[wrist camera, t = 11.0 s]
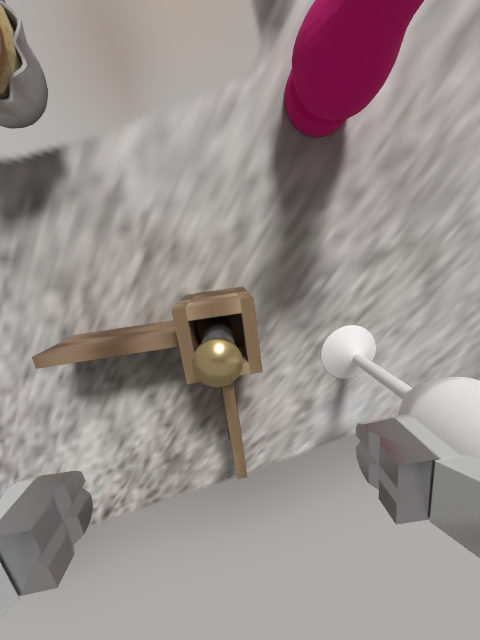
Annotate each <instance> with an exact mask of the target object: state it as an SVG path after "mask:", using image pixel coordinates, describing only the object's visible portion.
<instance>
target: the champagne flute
mask: <svg viewBox="0 0 480 640" xmlns="http://www.w3.org/2000/svg"><path fill="white" fill-rule="evenodd" d="M375 351H376V345H375V341H374V338H373V336H372V335H371V333H370V332H369V331H368V330H366V329H365V328H363V327H360V326H355V325H349V326H344V327H341V328H339V329H337V330H336V331H334V332H333V333H332V334H331V335H330V336H329V337H328V338H327V339H326V341H325V342H324V345H323V347H322V352H321V360H322V364H323V366H324V368H325V369H326V371H327V372H328V373H330V374H331V375H333V376H334V377H337V378H343V379H346V378H352V377H355V376H357V375H359V374H361V373H362V372H364V371H366V372H367V373H368V374H370V375H371V376H372V377H374V378H375V379H376V380H378V381H379V382H380V383H382V384H383V385H384V386H386V387H387V388H388V389H390V390H391V391H392V392H394V393H395V394H396V395H398V396H399V397H400V398H402V399H403V401H402V405H401V408H400V411H399V416H400V415H406V414H408V415H410V416H413V417H414V418H415V419H416V420H418V421H419V422H420V423H421V424H423V425H424V426H425V427H426V428H427V429H429V430H430V431H431V432H432V433H434V434H435V435H436V436H437V437H439V438H440V439H441V440H442V441H443V442H445V443H446V444H447V445H448V446H450V447H451V448H452V449H453V450H455V451H456V452H457V453H458V454H460V455H461V456H463V455H469V456H471V457H474V458H476V459H479V460H480V381H479V380H476V379H472V378H466V377H446V378H439V379H433V380H430V381H426V382H424V383H422V384H420V385H418V386H416V387H414V388H411V387H410V386H408V385H407V384H405V383H404V382H402V381H401V380H399V379H398V378H396V377H394V376H393V375H391V374H390V373H388V372H387V371H385V370H384V369H382V368H381V367H379V366H378V365H376V364H375V363H373V362H372V361H373V359H374V356H375Z"/></svg>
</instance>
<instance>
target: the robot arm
mask: <svg viewBox="0 0 480 640" xmlns="http://www.w3.org/2000/svg"><path fill="white" fill-rule="evenodd" d="M356 436H357V437H358V438H359V439H360V443H359V444H358V446H357V447H356V453H357V460H358V463H359V467H360V469H361V471H362V473H363V475H364V477H365V478H366V480H367V481H368V483H369V484H371V485H372V486H374V487H375V488H377V489H379V499H380V501H381V503H382V504H383V506H384V507H385V508H386V510H387V512H388V513H389V515H390V516H391V518H392V519H393V521H394V522H395V523H396V524H402V523H408V522H415V521H422V520H428V519H430V522H431V523H432V524H434V525H435V526H437V527H438V528H439V529H441V530H442V531H443V532H445V533H446V534H448V535H449V536H450V537H452V538H453V539H454V540H456V541H457V542H459V543H460V544H461V545H463V546H464V547H465V548H467V549H468V550H469V551H471V552H472V553H474V554H475V555H476V556H478V557H479V558H480V460H479V459H476V458H474V457H471V456H469V455H463V456H461V455H460V454H458V453H457V452H456V451H455V450H453V449H452V448H451V447H450V446H448V445H447V444H446V443H445V442H443V441H442V440H441V439H440V438H439V437H437V436H436V435H435V434H434V433H432V432H431V431H430V430H429V429H427V428H426V427H425V426H424V425H423V424H421V423H420V422H419V421H418V420H416V419H415V418H414V417H413V416H410V415H408V414H406V415H400V416H395V417H390V418H386V419H380V420H374V421H369V422H363V423H358V424H357V427H356ZM84 483H85V479H84V476H83V474H82V472H80V471H70V472H63V473H56V474H49V475H42V476H38V477H31V478H24V479H22V480H20V481H18V482H16V483H15V484H14V485H13V486H12V487H11V488H10V489H9V490H8V491H7V492H6V493H5V494H4V495H3V496H2V498H1V499H0V620H1V619H2V617H4V615H5V614H6V613H7V612H8V611H9V610H10V609H11V607H12V606H13V605H14V604H15V603H16V602H17V601H18V600H19V596H22V595H27V594H31V593H35V592H40V591H45V590H49V589H54V588H58V586H59V584H60V582H61V579H62V577H63V576H64V574H65V572H66V570H67V568H68V566H69V564H70V562H71V560H72V558H73V555H74V546H73V545H74V544H75V543H76V542H77V541H78V540H79V539H80V538H81V537H82V536H83V535H84V534H85V532H86V530H87V527H88V525H89V523H90V520H91V515H92V511H93V502H92V498H91V495H90V493H89V492H88V491H86V490H85V489H83V488H82V487H83V485H84Z"/></svg>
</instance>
